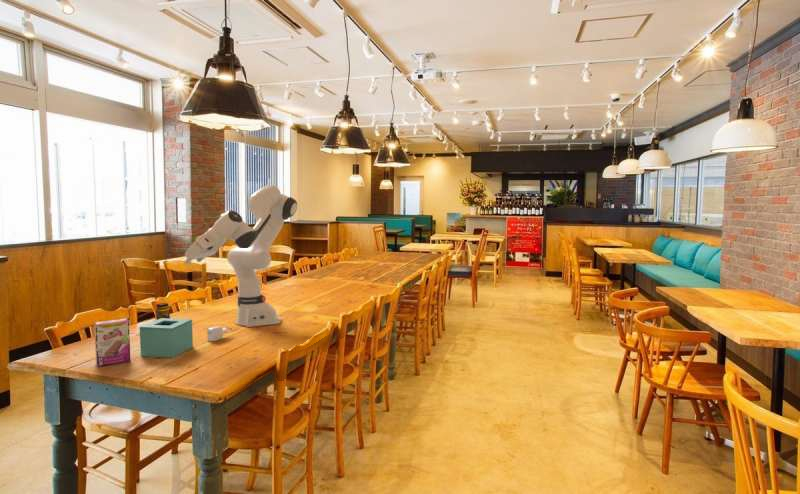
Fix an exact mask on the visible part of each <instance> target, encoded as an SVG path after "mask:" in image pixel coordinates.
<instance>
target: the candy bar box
mask: <svg viewBox="0 0 800 494" xmlns="http://www.w3.org/2000/svg"><path fill="white" fill-rule="evenodd" d="M93 326H94V345H95V347H94V349H95V363H96V367H97V368H98V366H100V367H105V366H104V365H106V366H110V365H109V364H111V365H116V364H115V363H117V364H121V362H123V363H128V362H131V342H130V340H131V339H130V337H131V336H130V321H129V320H128V318H121V319H111V320H104V321H96V322H94V325H93ZM127 361H128V362H127Z"/></svg>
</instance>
